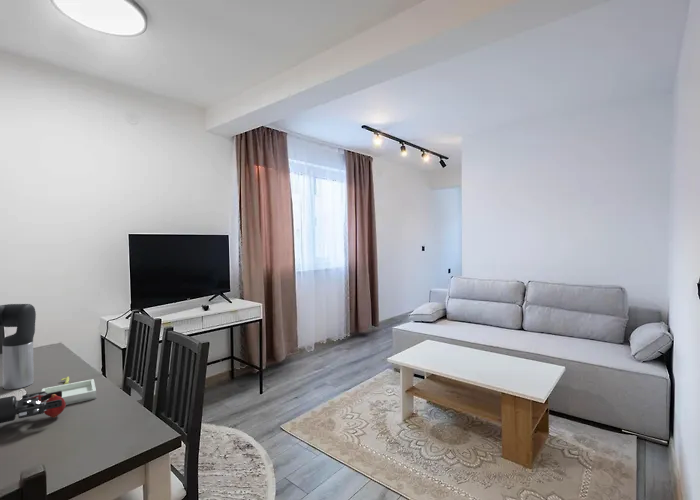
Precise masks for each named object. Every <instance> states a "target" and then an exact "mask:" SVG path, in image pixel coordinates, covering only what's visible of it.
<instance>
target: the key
mask: <svg viewBox="0 0 700 500" xmlns="http://www.w3.org/2000/svg"><path fill="white" fill-rule="evenodd" d="M60 381H64V383H63V384H62V385H64V384H70V382H69V381H70V376H66V377H64V378H61V380H60Z"/></svg>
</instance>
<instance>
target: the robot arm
mask: <svg viewBox="0 0 700 500" xmlns="http://www.w3.org/2000/svg"><path fill="white" fill-rule="evenodd" d="M36 312H37V311H36V309H35V306H34V305H32V304H31V303H9V304H7V303H6V304H0V328H2V327H3V328H16V331H15V333H13V334H10V335H7V336H5V337H3V338H2V341H1V345H2V389H3V388H4V389H3V390H17V389H21V388H25V387H26V388H27V387H28V386H31V385H32V384H34V336H35V332H36V320H37V316H36V315H37V314H36ZM53 394H56V395H57V396H60V397H62V391H57V392H52V393H45V391H43V392H42V391H39V392H33V393H29V394H24V395H22V396H21V399H19V400H18V399H17V396H16V395H12V396H5V397H0V424H4V423H8V422H13V421H15V420H16V417H17V415H18V419H24V418H27V417H33V416H38V415H43V414H45V413H44V411H46V410H47V409H52V408H56V407H60V406H62V400H61V399H59V400H54V401H50V402H44V401H47V400H48V399H49V398H51V397H52V396H51V395H53Z"/></svg>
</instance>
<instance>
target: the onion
mask: <svg viewBox="0 0 700 500" xmlns="http://www.w3.org/2000/svg"><path fill="white" fill-rule="evenodd" d="M51 396H52V397H51V398H49V399H48V400H47V401H46V402H50V401H54V400H59V399H61V400H62V406H60V407H56V408H52V409H47V410H46V411H44V413H43V414H44V415H46V416H48V417H50V418H52V419H55V418H56V417H57V418H58V416H60V414H62V412H64V410H65V409H66V406H67V405H66V404H65V401H64V399H63V398H62V397H60V396H57V395H56V394H53V395H51Z"/></svg>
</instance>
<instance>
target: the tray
mask: <svg viewBox="0 0 700 500" xmlns="http://www.w3.org/2000/svg"><path fill="white" fill-rule="evenodd" d="M63 384H64V383H63ZM63 384H59V385H54V386H49V387H43V388H42V389H41V392H43V391H45V393H52V392H57V391H62V398H63V399H64V401H65V404H66V405H65V406H68V405H73V404H77V403H82V402H85V401H90V400H96V399H97V389H96V383H95V379H94V378H92V379H87V380H86V379H85V380H82V381H76V382H71V383H70V382H69V384H64V385H63ZM44 402H46V401H44Z"/></svg>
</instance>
